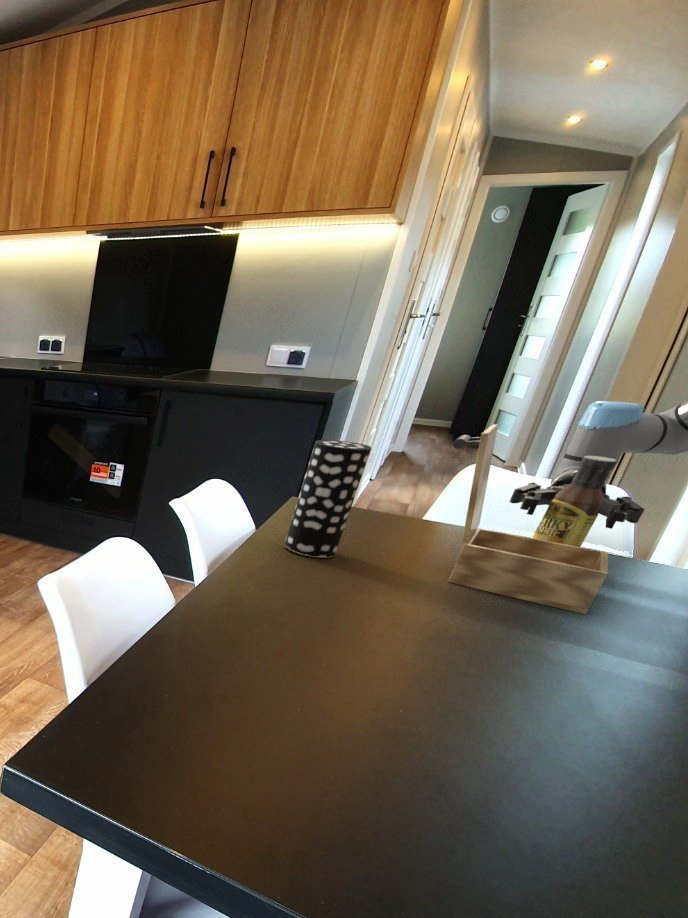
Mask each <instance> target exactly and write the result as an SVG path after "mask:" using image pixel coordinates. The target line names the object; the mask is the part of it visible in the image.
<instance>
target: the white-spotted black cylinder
mask: <svg viewBox="0 0 688 918" xmlns="http://www.w3.org/2000/svg"><path fill="white" fill-rule="evenodd" d="M371 450H372V447H371V445H368V444H363V443H358V442H353V441H345V440H333V439H332V440H331V439H320V440H316V441H315V442H314V445H313V450H312V452H311V455H310V458H309V462H308V466H307V469H306V472H305V475H304V477H303V482H302V484H301V485H302V486H301V489H300V492H299V494H298V498H297V501H296V505H295V508H294V511H293V514H292V518H291V522H290V525H289V528H288V531H287V535H286V538H285V541H284V544H285V545H286V546H287V547H288V548H290V549H292V550H295V551H297V552H300V553H303V554H308V555H311V556H320V557H330V556H334V555H335V556H336V554H337V550H338V547H339V544H340V541H341V538H342V536H343V532H344V530H345V527H346V524H347V521H348V519H349V515H350V512H351V511H352V510H351V509H352V507H353V504H354V500H355V498H356V494H357V491H358V489H359V487H360V483H361V480H362V477H363V474H364V472H365V469H366V465H367V462H368V460H369V456H370V454H371ZM335 556H334V557H335Z"/></svg>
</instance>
